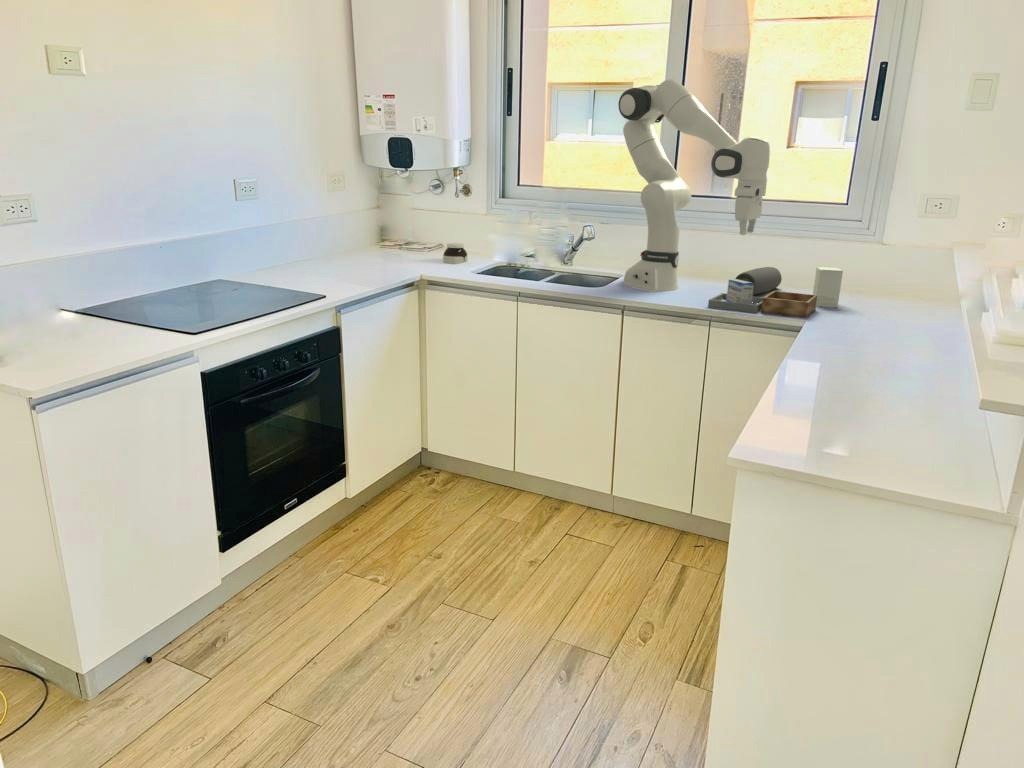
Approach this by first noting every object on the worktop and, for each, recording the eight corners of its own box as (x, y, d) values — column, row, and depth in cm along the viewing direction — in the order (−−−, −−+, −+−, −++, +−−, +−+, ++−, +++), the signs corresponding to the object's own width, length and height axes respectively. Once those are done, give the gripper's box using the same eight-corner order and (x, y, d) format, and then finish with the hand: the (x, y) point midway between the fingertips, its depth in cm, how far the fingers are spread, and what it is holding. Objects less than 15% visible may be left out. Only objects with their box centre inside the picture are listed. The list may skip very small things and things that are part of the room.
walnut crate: (761, 312, 243) (762, 297, 242) (772, 305, 256) (773, 290, 255) (806, 318, 236) (808, 302, 235) (815, 310, 250) (817, 295, 248)
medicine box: (725, 304, 255) (728, 279, 253) (735, 304, 257) (738, 278, 255) (740, 309, 249) (743, 283, 246) (751, 308, 250) (754, 282, 248)
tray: (707, 307, 250) (708, 299, 249) (721, 300, 263) (722, 293, 263) (756, 313, 242) (757, 305, 242) (768, 305, 256) (768, 298, 255)
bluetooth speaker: (757, 290, 285) (760, 264, 282) (781, 293, 279) (784, 266, 276) (730, 297, 268) (733, 269, 265) (755, 301, 262) (758, 273, 259)
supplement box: (837, 308, 254) (843, 270, 251) (814, 306, 256) (820, 269, 252) (833, 304, 261) (839, 267, 258) (811, 302, 263) (816, 266, 259)
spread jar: (455, 274, 305) (455, 245, 301) (433, 271, 311) (433, 243, 307) (472, 271, 314) (473, 243, 311) (451, 268, 320) (451, 240, 317)
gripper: (749, 188, 252) (744, 230, 256) (733, 190, 235) (728, 235, 239) (768, 189, 249) (763, 231, 253) (753, 191, 232) (748, 236, 236)
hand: (746, 233), depth 246 cm, fingers open, 8 cm apart
